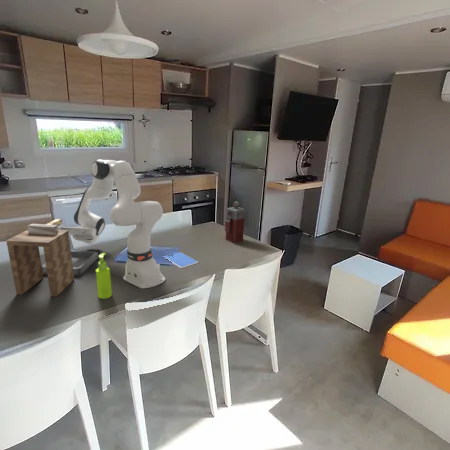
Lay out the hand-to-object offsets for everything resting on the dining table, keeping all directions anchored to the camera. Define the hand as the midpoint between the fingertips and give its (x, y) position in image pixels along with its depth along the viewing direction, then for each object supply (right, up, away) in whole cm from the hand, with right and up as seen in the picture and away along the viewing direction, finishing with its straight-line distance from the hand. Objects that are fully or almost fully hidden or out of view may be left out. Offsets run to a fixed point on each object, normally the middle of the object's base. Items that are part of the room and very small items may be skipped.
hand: (68, 228), depth 159 cm
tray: (-1, -20, +5) cm, 21 cm away
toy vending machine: (+89, -9, +53) cm, 104 cm away
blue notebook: (+57, -19, +18) cm, 63 cm away
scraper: (0, 0, -16) cm, 16 cm away
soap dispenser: (+28, -30, -21) cm, 46 cm away
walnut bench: (-2, -27, -17) cm, 32 cm away
